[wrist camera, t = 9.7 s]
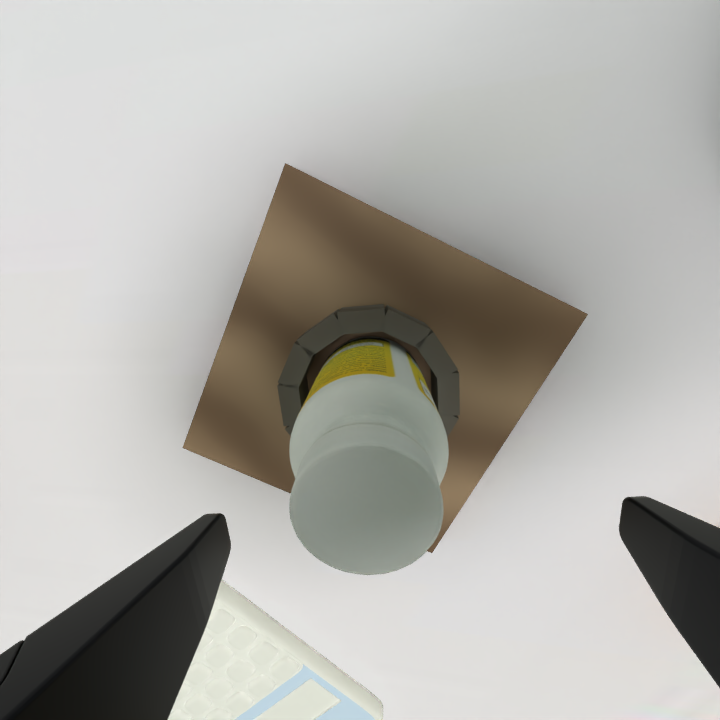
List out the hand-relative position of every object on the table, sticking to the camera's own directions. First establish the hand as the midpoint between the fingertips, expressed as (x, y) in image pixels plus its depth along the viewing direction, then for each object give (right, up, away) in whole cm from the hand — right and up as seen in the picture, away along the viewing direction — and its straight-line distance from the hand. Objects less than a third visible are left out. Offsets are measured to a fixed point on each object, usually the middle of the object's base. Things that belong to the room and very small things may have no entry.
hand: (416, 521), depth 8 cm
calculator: (-11, -20, +19) cm, 30 cm away
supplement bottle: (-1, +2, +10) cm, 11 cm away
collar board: (-1, +3, +11) cm, 12 cm away
